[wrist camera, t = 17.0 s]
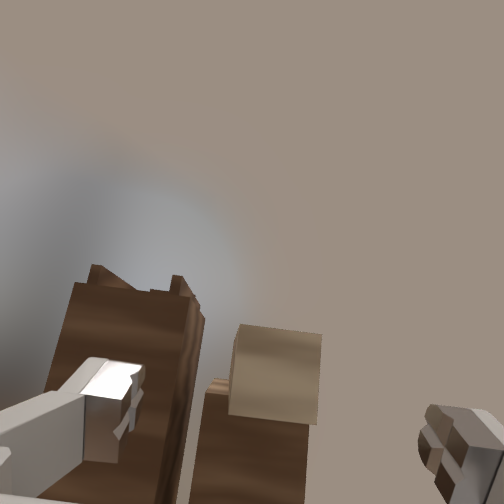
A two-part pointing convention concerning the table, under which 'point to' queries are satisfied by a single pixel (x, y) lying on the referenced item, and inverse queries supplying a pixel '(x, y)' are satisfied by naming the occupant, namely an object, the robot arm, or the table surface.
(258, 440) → the walnut step
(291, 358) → the pine blank
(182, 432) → the brown wooden block
